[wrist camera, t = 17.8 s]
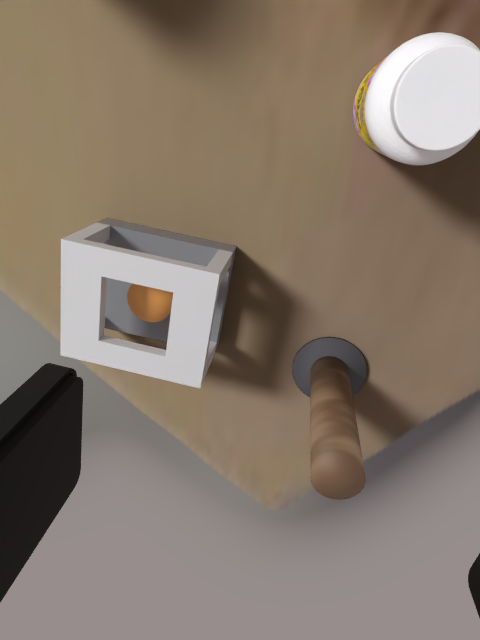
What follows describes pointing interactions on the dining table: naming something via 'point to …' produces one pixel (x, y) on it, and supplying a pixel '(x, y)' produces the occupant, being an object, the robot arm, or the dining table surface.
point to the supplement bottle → (421, 100)
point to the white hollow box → (151, 271)
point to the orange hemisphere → (149, 302)
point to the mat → (329, 348)
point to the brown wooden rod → (334, 431)
